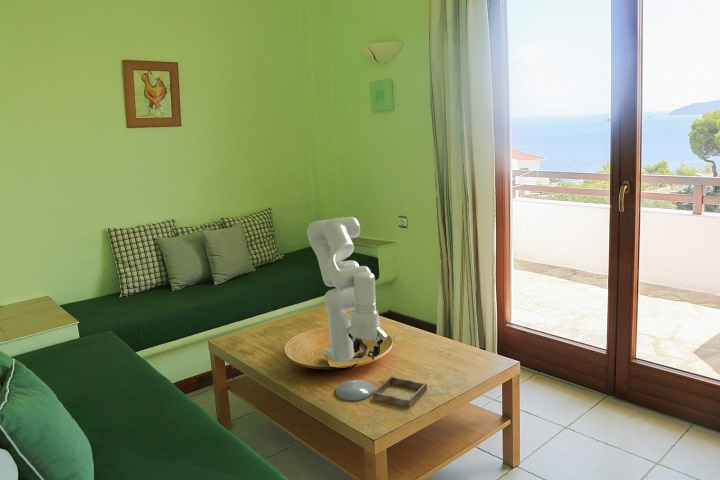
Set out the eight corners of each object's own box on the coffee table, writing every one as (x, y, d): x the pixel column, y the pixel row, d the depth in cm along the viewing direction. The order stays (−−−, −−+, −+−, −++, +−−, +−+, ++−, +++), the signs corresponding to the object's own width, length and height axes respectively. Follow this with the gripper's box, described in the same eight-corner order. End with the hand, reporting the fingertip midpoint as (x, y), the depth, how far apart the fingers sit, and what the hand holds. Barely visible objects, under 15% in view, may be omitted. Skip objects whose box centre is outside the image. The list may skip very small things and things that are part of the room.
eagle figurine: (381, 351, 213) (360, 344, 217) (377, 341, 208) (356, 333, 212) (372, 369, 209) (350, 361, 213) (368, 358, 204) (346, 350, 208)
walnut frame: (372, 398, 208) (372, 392, 208) (391, 382, 220) (390, 375, 220) (410, 407, 201) (409, 401, 201) (426, 389, 213) (426, 383, 212)
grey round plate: (328, 395, 212) (328, 393, 212) (348, 379, 224) (348, 377, 224) (361, 404, 205) (361, 401, 205) (380, 387, 217) (380, 384, 217)
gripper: (338, 307, 207) (340, 353, 211) (382, 314, 199) (384, 362, 203) (348, 300, 213) (350, 345, 218) (392, 307, 205) (393, 353, 210)
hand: (366, 352), depth 210 cm, fingers closed on eagle figurine, 7 cm apart
